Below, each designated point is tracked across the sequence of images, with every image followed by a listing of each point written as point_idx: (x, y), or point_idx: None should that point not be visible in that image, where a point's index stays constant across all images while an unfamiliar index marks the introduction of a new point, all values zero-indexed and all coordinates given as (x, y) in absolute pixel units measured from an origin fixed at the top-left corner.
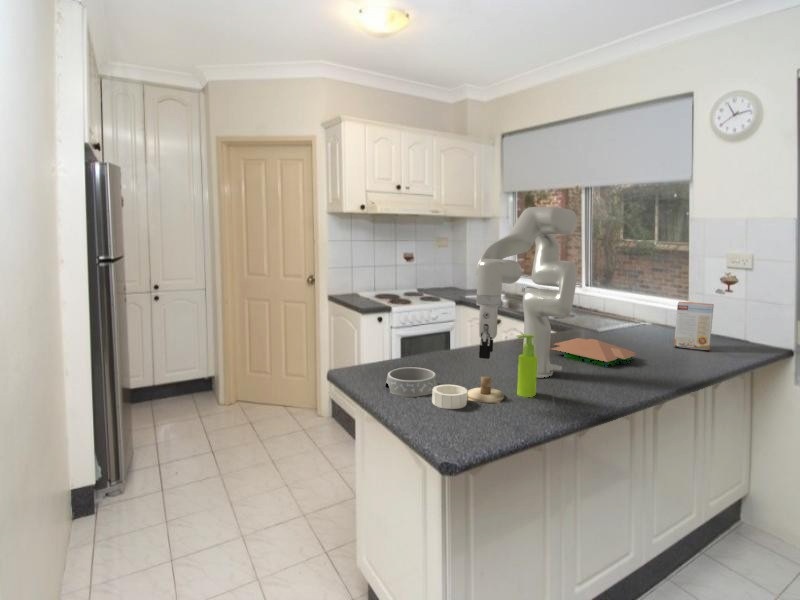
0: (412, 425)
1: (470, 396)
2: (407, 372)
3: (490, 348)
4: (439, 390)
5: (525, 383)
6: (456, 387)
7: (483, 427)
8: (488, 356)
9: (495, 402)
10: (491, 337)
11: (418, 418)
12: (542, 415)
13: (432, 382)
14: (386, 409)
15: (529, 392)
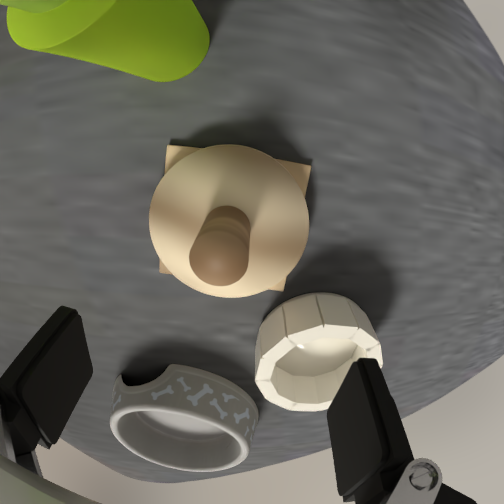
0: (437, 384)
1: (267, 286)
2: (131, 435)
3: (68, 343)
4: (288, 390)
5: (193, 31)
6: (278, 356)
7: (486, 247)
8: (375, 376)
9: (301, 185)
10: (6, 421)
11: (407, 384)
12: (405, 31)
13: (209, 405)
14: None
15: (204, 25)
